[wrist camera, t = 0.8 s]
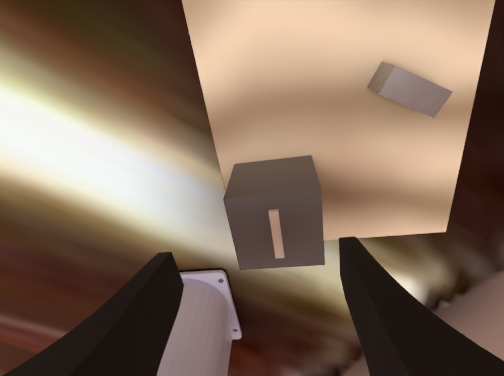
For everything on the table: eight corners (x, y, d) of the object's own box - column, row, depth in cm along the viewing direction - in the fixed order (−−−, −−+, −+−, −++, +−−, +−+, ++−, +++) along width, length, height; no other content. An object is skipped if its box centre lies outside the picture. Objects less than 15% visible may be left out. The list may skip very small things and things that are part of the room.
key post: (433, 84, 15) (453, 91, 14) (416, 108, 16) (433, 118, 14) (381, 61, 15) (395, 65, 13) (367, 87, 16) (378, 94, 14)
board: (435, 219, 21) (445, 231, 20) (240, 234, 23) (238, 246, 22) (501, -136, 12) (528, -156, 11) (175, -61, 14) (165, -70, 13)
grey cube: (315, 219, 20) (325, 267, 16) (246, 225, 21) (239, 272, 17) (311, 155, 18) (322, 191, 14) (234, 163, 19) (222, 201, 14)
